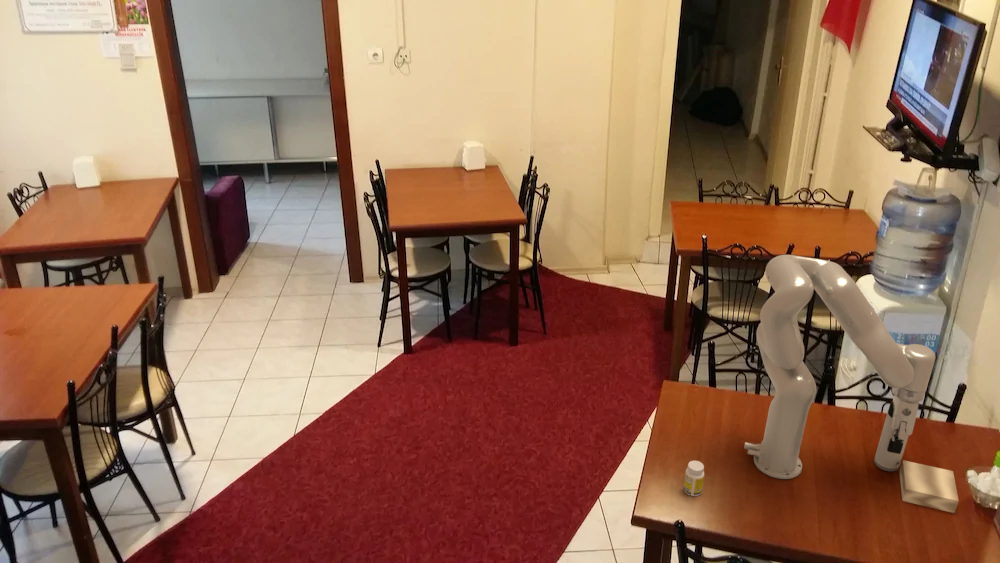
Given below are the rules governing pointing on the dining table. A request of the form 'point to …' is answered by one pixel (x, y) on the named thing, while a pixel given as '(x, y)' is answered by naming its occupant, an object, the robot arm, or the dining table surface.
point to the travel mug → (883, 457)
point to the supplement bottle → (694, 478)
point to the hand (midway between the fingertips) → (892, 443)
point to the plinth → (928, 486)
